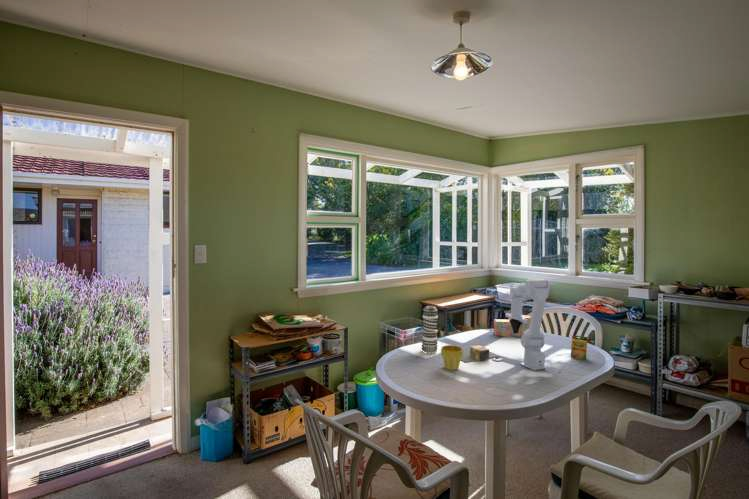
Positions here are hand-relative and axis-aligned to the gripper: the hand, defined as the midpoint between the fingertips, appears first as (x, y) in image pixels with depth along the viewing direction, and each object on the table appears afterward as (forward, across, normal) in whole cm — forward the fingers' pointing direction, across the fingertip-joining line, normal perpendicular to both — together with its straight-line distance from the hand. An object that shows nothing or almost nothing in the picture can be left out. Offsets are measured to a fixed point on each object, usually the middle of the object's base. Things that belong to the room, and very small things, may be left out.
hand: (515, 333), depth 230 cm
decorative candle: (+11, +18, +44) cm, 48 cm away
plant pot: (+11, -6, +46) cm, 48 cm away
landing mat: (+10, +6, +25) cm, 27 cm away
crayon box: (+11, -21, -24) cm, 34 cm away
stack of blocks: (+11, +25, -21) cm, 35 cm away
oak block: (+8, -4, +25) cm, 26 cm away
